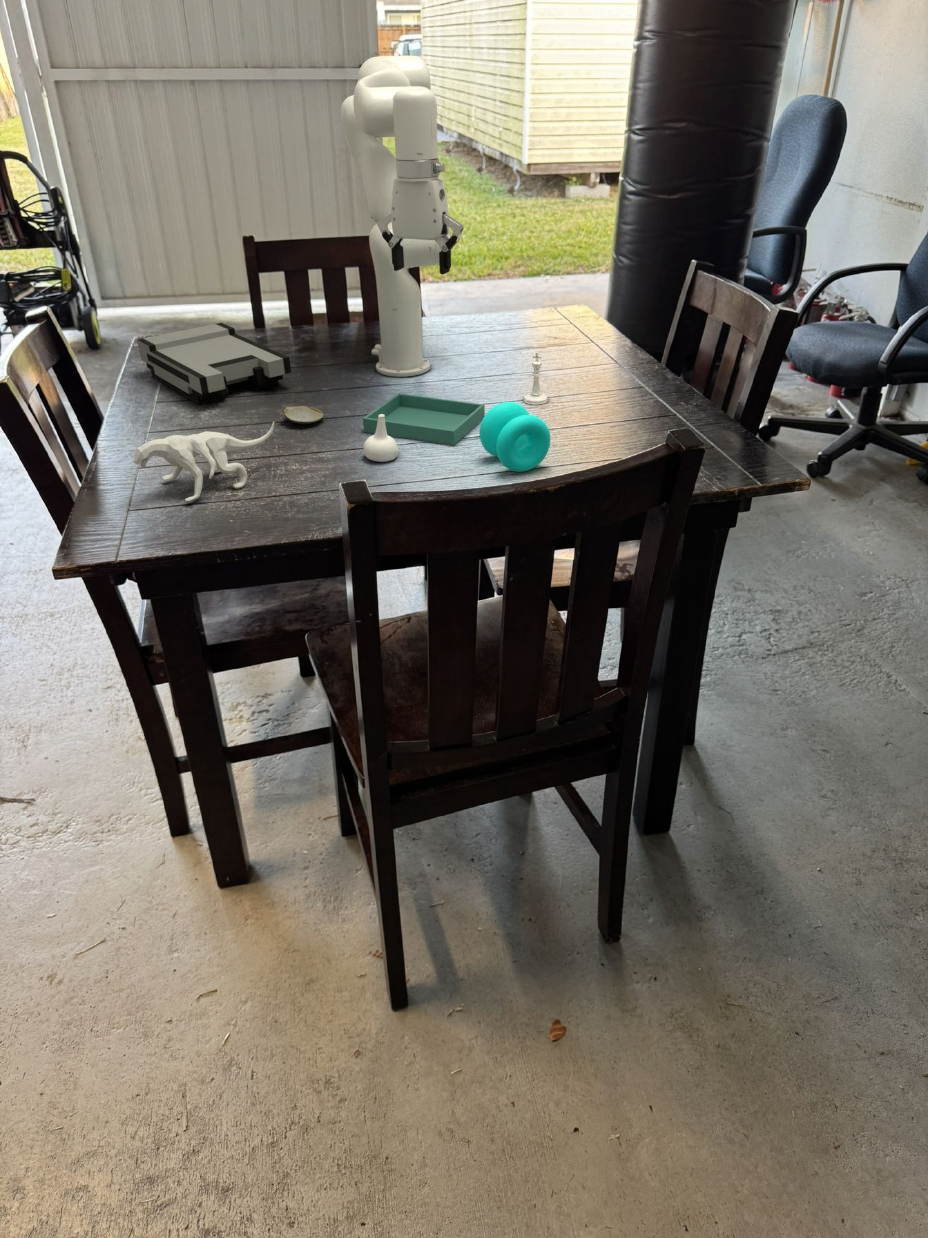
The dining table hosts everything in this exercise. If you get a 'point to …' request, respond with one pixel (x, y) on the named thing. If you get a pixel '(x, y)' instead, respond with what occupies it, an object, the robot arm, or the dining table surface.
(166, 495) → the dining table surface
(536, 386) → the chess piece
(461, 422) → the tray
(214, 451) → the white animal figurine
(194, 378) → the game console
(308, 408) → the seashell
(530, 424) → the turquoise yo-yo
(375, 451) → the garlic bulb
